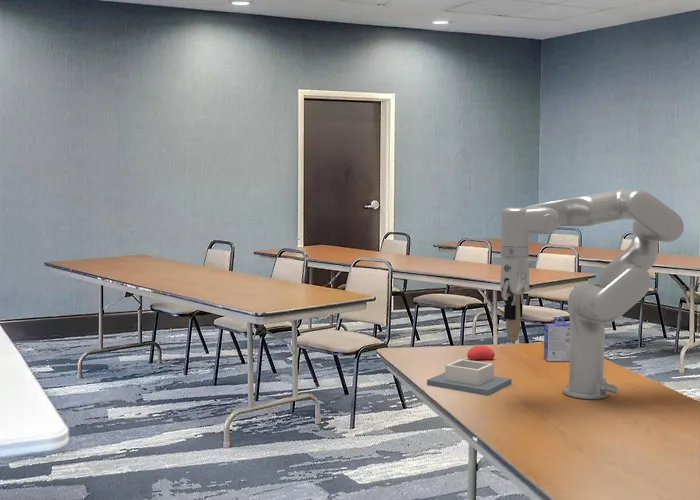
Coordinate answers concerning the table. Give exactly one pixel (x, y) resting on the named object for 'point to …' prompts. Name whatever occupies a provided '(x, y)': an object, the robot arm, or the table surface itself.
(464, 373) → the socket
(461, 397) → the table surface
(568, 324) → the ink cartridge box
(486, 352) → the red bean shape
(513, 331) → the handle
